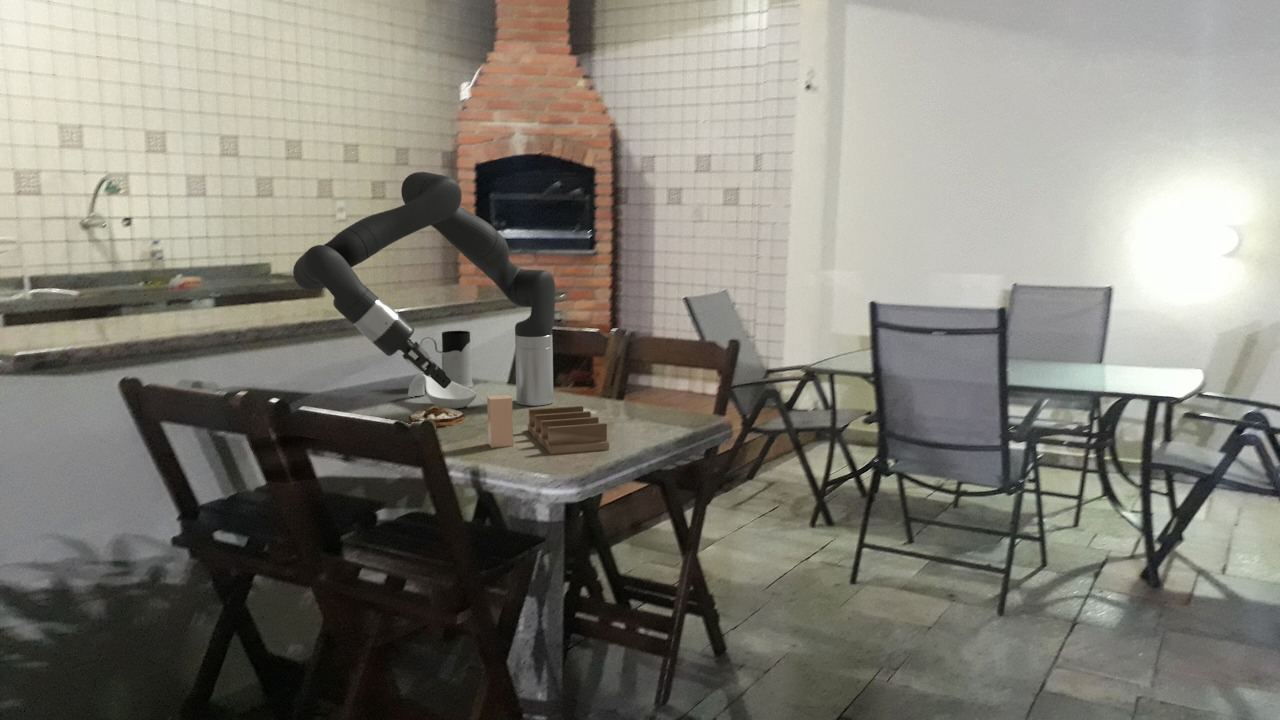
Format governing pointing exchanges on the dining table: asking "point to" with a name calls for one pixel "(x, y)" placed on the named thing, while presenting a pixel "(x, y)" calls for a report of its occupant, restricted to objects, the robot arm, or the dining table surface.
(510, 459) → the dining table surface
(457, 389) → the spoon rest
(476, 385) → the dining table surface
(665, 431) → the dining table surface
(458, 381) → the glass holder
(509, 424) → the clay block
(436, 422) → the pie
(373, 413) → the dining table surface
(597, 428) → the walnut rack
